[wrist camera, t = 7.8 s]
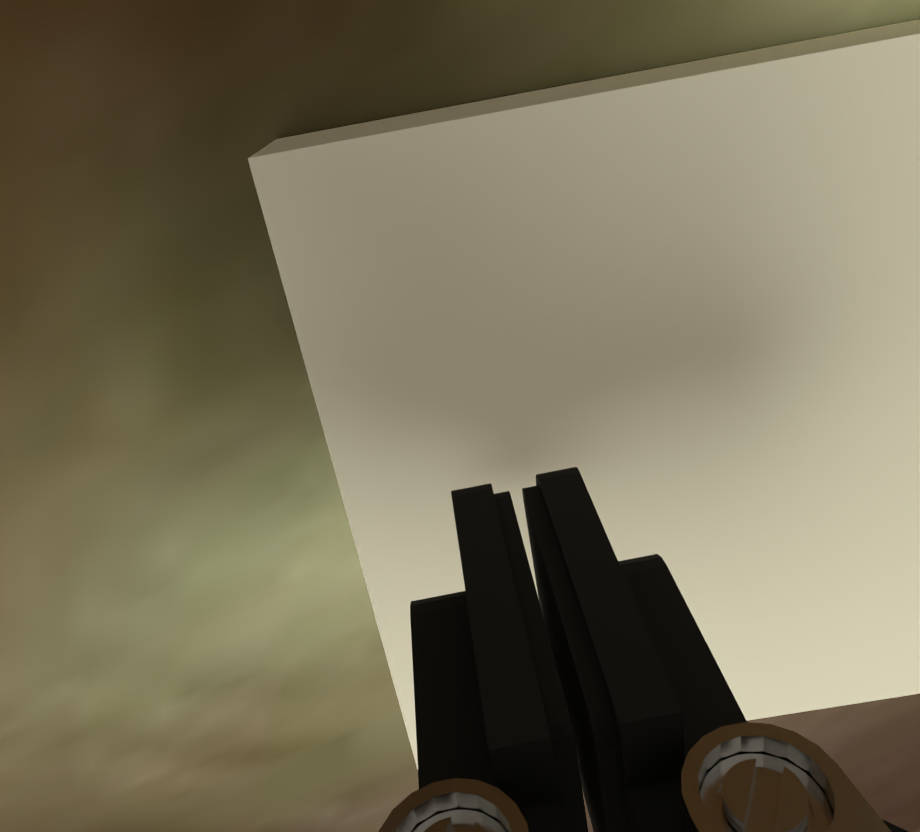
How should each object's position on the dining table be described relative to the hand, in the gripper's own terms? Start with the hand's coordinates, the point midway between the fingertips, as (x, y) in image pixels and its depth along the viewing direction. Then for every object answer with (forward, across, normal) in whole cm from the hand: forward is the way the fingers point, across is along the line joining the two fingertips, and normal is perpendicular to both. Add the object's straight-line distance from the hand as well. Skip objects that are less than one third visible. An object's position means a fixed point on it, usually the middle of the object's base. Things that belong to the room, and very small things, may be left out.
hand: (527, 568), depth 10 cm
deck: (+6, -8, +1) cm, 10 cm away
